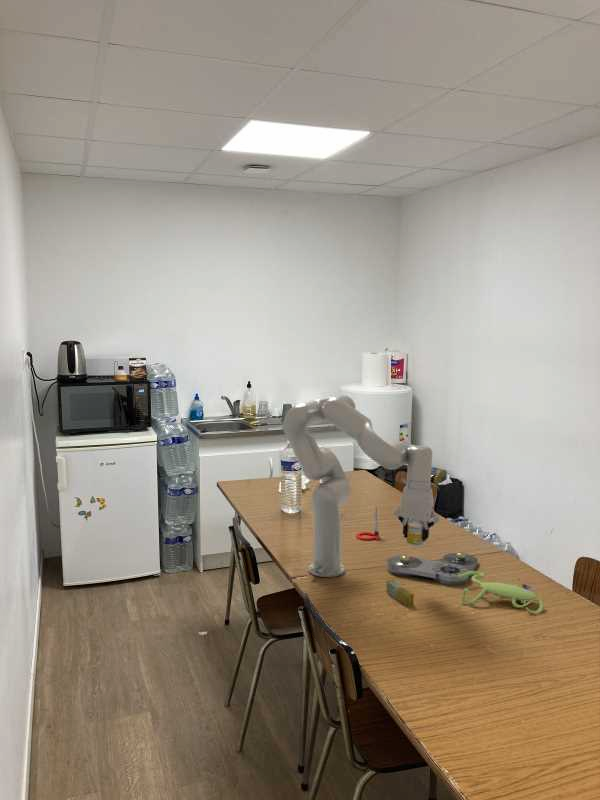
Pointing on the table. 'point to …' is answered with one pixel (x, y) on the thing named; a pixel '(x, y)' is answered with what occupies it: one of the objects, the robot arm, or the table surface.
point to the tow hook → (375, 535)
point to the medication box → (400, 593)
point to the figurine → (502, 592)
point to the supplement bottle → (415, 533)
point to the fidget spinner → (459, 559)
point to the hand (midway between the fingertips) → (415, 537)
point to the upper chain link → (424, 568)
